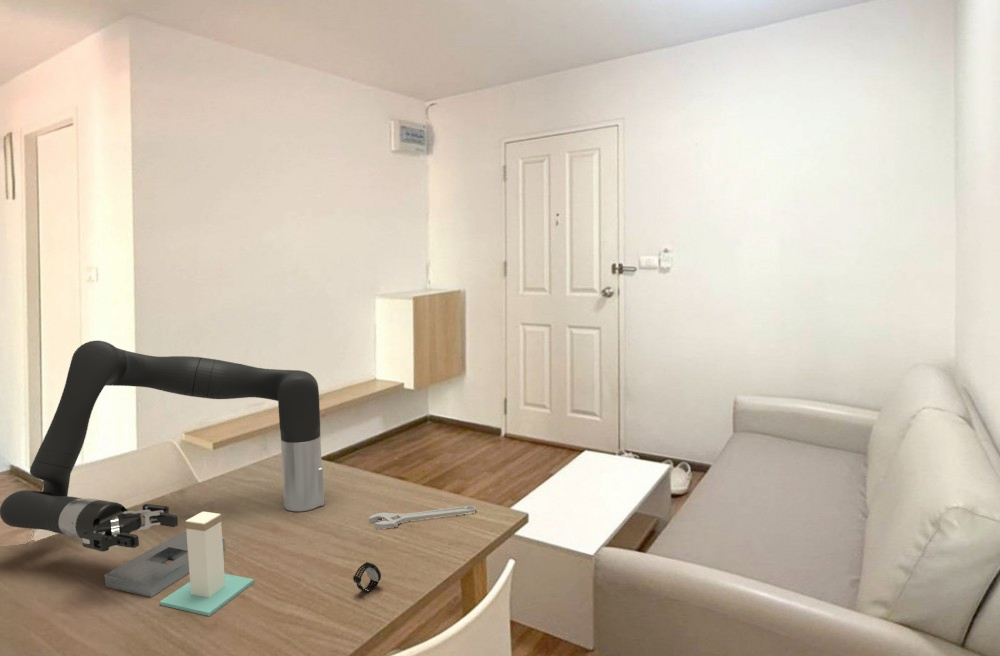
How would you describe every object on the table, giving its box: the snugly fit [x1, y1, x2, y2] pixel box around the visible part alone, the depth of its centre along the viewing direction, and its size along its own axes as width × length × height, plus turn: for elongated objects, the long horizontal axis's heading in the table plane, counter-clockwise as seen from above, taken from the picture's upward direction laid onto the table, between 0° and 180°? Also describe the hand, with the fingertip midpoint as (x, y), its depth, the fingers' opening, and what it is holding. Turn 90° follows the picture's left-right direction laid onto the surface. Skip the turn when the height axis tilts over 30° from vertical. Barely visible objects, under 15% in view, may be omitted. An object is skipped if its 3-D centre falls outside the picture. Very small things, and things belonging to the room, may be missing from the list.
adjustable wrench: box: [368, 505, 477, 530], centre depth 137 cm, size 25×6×2 cm, turn 102°
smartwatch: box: [352, 561, 382, 594], centre depth 108 cm, size 4×5×5 cm
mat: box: [159, 573, 255, 617], centre depth 107 cm, size 11×11×1 cm
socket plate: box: [104, 531, 226, 598], centre depth 116 cm, size 18×11×2 cm, turn 162°
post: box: [184, 511, 226, 598], centre depth 107 cm, size 4×4×14 cm
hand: (157, 531), depth 110 cm, fingers open, 8 cm apart
